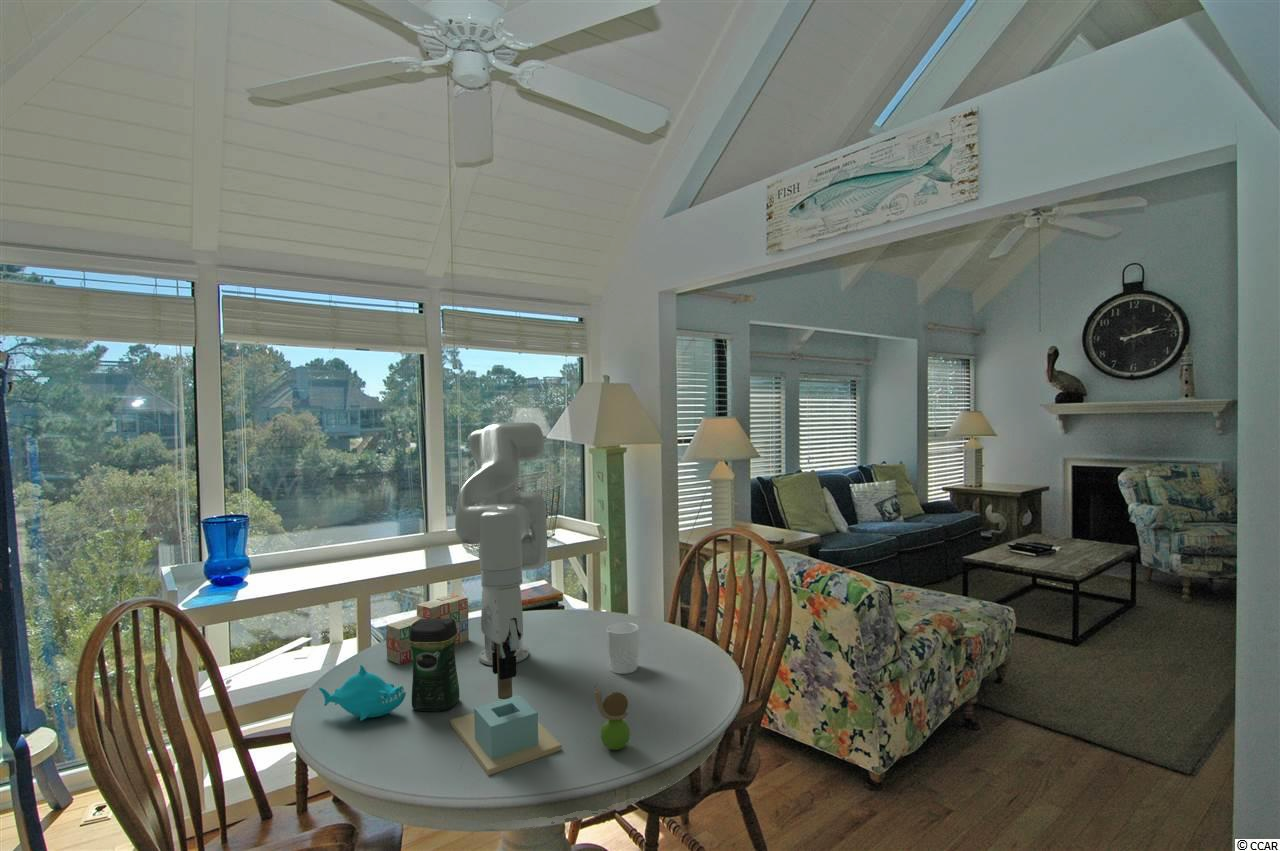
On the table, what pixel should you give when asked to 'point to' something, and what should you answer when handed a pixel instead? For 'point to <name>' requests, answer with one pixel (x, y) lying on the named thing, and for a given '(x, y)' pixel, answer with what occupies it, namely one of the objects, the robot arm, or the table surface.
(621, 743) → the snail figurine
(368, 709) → the toy shark
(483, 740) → the shape sorter toy
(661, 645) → the table surface
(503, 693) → the brown wooden rod
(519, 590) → the robot arm
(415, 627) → the coffee jar
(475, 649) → the table surface
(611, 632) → the white cup
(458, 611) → the stack of blocks
